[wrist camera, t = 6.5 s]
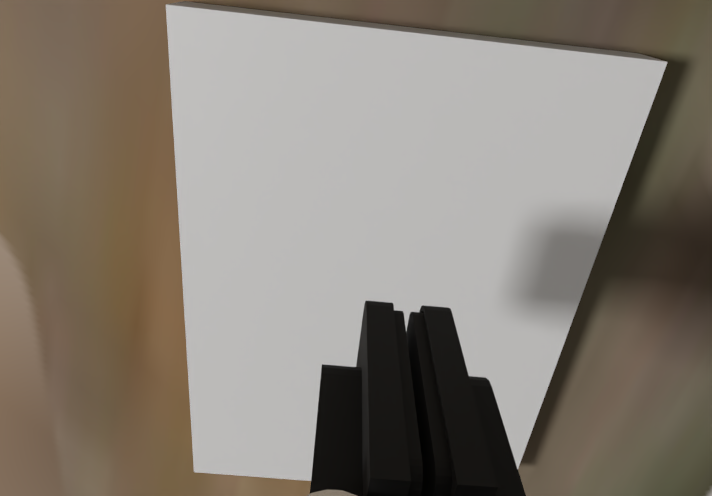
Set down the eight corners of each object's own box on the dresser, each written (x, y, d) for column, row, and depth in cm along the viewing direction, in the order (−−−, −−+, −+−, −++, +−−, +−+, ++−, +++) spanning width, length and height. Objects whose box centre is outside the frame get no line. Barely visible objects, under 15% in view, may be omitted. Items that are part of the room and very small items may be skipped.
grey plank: (185, 1, 13) (165, 4, 12) (638, 53, 14) (667, 61, 13) (204, 440, 21) (194, 472, 20) (498, 463, 21) (508, 495, 20)
